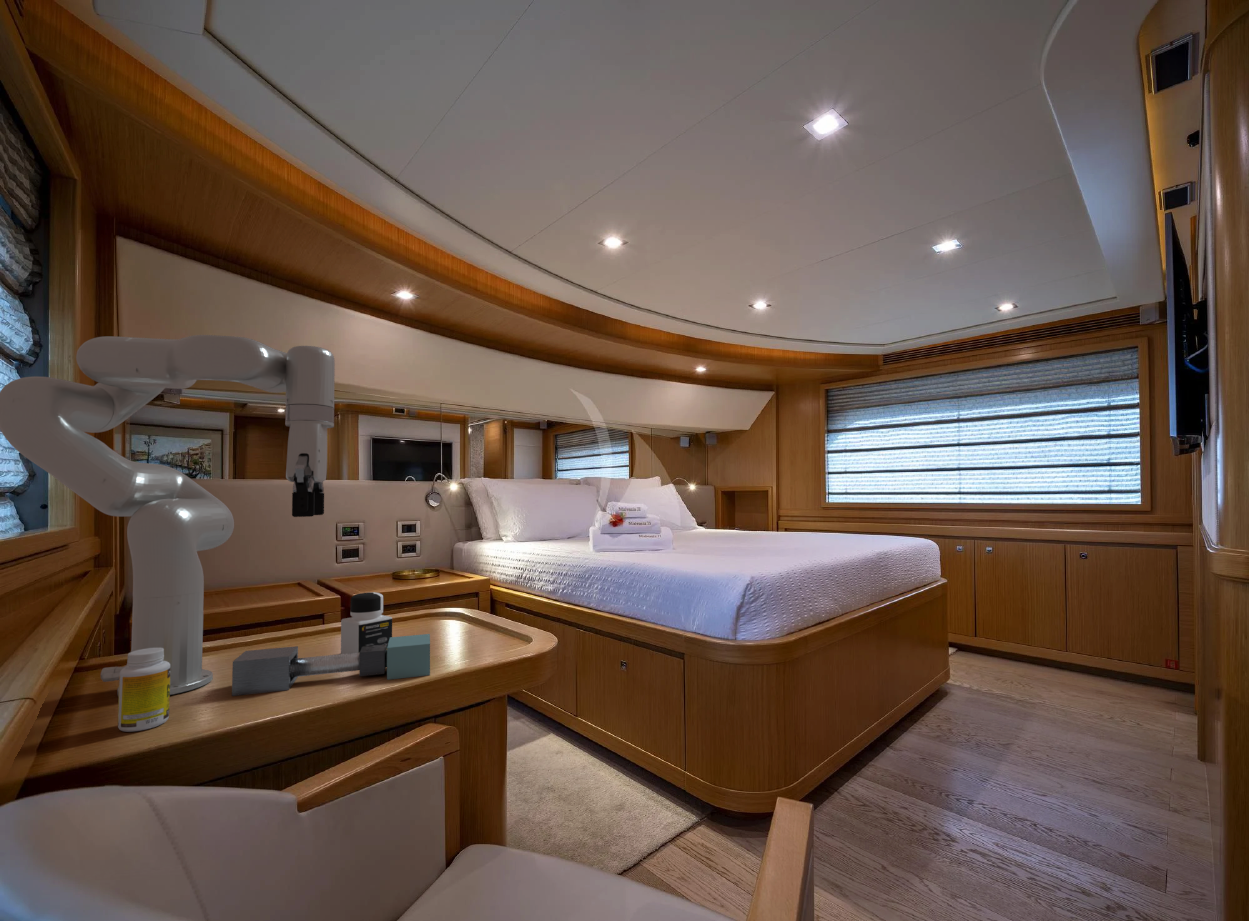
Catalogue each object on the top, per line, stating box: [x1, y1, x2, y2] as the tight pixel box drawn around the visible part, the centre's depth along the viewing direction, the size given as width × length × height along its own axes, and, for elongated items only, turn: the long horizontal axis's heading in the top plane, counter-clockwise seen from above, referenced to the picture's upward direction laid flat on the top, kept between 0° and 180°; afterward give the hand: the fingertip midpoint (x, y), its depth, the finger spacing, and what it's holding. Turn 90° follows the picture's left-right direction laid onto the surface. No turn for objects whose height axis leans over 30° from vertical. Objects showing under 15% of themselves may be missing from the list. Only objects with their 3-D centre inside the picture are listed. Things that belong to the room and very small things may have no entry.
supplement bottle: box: [117, 648, 171, 733], centre depth 82 cm, size 6×6×10 cm
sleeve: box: [231, 646, 299, 697], centre depth 98 cm, size 8×7×5 cm
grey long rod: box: [290, 644, 387, 678], centre depth 101 cm, size 22×4×4 cm, turn 109°
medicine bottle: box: [340, 591, 393, 654], centre depth 118 cm, size 7×7×12 cm
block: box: [386, 633, 431, 681], centre depth 105 cm, size 7×8×5 cm
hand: (308, 515), depth 101 cm, fingers open, 9 cm apart
